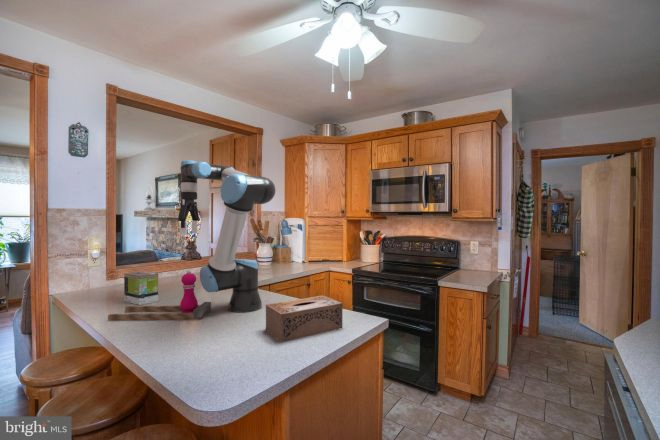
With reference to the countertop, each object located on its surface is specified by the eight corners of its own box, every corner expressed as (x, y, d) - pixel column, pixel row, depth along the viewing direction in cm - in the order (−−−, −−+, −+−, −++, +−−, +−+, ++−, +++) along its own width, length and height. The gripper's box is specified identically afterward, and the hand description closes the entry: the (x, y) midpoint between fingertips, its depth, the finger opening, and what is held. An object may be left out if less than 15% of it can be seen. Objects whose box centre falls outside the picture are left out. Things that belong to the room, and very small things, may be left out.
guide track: (211, 310, 146) (211, 301, 146) (200, 319, 133) (200, 310, 133) (126, 311, 145) (126, 302, 144) (108, 320, 132) (108, 311, 132)
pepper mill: (183, 312, 143) (183, 268, 142) (200, 312, 143) (199, 268, 143) (177, 317, 135) (177, 271, 135) (194, 317, 136) (194, 271, 136)
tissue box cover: (281, 343, 109) (281, 314, 109) (265, 330, 121) (265, 304, 121) (342, 328, 123) (342, 303, 123) (323, 318, 135) (323, 295, 135)
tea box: (159, 301, 162) (159, 272, 162) (138, 306, 154) (138, 275, 153) (143, 297, 170) (143, 270, 170) (123, 301, 162) (123, 272, 162)
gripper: (191, 193, 171) (191, 232, 171) (170, 189, 146) (170, 235, 146) (205, 193, 171) (205, 232, 171) (186, 189, 146) (186, 235, 146)
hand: (189, 234), depth 159 cm, fingers open, 13 cm apart
